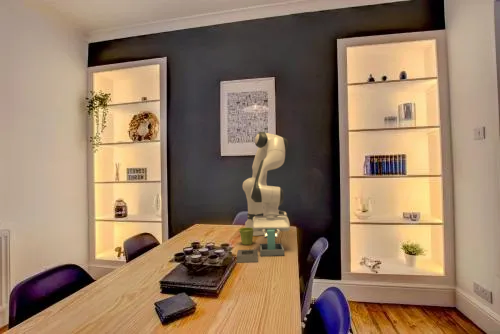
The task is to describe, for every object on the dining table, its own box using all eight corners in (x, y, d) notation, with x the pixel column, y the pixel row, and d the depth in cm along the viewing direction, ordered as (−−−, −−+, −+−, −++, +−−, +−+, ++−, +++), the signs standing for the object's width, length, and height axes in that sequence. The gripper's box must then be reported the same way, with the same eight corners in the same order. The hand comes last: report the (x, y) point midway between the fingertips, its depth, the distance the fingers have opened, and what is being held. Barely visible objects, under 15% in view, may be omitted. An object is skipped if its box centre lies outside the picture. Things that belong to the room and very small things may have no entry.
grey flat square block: (238, 255, 131) (237, 249, 132) (257, 255, 131) (257, 249, 131) (236, 262, 121) (236, 256, 122) (257, 262, 121) (257, 255, 121)
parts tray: (260, 249, 141) (259, 243, 141) (281, 248, 141) (281, 243, 141) (260, 256, 129) (260, 250, 129) (284, 255, 129) (284, 249, 129)
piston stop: (267, 248, 137) (267, 229, 138) (275, 248, 137) (274, 229, 137) (267, 250, 133) (267, 231, 134) (275, 250, 133) (274, 231, 133)
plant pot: (248, 246, 147) (248, 231, 147) (235, 244, 153) (235, 229, 153) (257, 243, 154) (257, 228, 154) (245, 240, 160) (245, 226, 160)
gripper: (252, 212, 144) (250, 234, 134) (289, 212, 142) (290, 234, 132) (253, 219, 148) (252, 240, 138) (289, 218, 146) (290, 240, 136)
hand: (271, 237), depth 135 cm, fingers closed on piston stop, 4 cm apart
